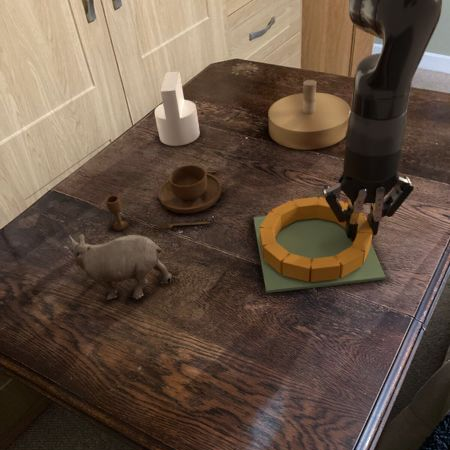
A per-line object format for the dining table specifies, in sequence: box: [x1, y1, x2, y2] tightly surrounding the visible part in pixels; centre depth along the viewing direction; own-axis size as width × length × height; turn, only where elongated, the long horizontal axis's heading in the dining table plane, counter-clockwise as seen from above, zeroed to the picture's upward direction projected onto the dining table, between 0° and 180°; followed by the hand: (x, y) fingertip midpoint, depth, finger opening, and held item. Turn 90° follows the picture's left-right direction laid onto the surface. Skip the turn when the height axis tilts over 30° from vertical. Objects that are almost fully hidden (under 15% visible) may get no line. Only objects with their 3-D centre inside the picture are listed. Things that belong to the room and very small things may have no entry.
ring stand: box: [267, 79, 351, 151], centre depth 103 cm, size 17×17×10 cm
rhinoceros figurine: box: [62, 233, 173, 301], centre depth 76 cm, size 8×14×15 cm
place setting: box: [104, 164, 222, 232], centre depth 91 cm, size 18×20×6 cm
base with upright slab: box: [154, 71, 201, 147], centre depth 105 cm, size 9×9×12 cm
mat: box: [253, 215, 386, 294], centre depth 80 cm, size 18×18×1 cm
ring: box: [259, 196, 373, 282], centre depth 79 cm, size 17×17×3 cm
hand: (360, 236), depth 79 cm, fingers closed on ring, 2 cm apart
